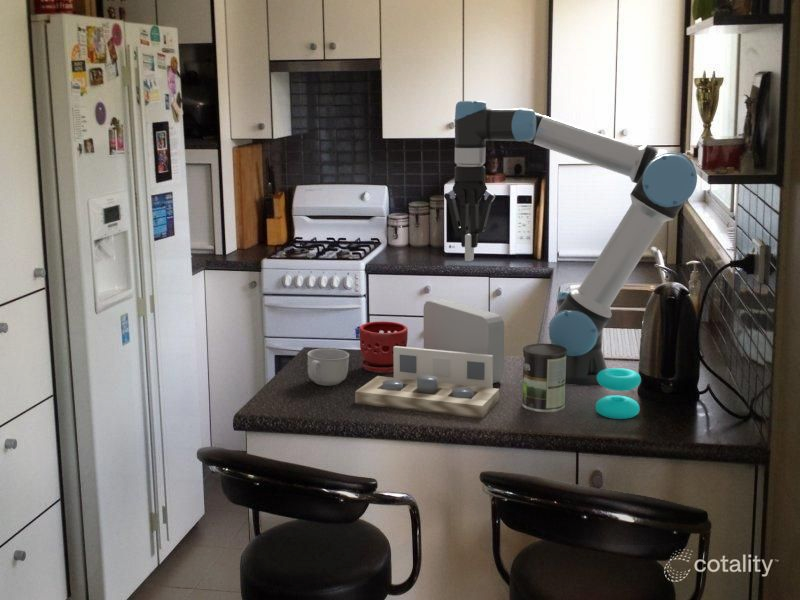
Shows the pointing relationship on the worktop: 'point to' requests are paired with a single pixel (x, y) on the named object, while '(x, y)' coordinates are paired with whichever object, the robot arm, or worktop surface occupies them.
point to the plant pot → (381, 344)
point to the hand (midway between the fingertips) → (469, 260)
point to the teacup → (327, 366)
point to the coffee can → (544, 377)
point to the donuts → (618, 404)
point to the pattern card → (444, 366)
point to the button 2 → (462, 392)
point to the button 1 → (393, 385)
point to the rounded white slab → (464, 331)
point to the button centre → (427, 384)
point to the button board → (428, 398)
